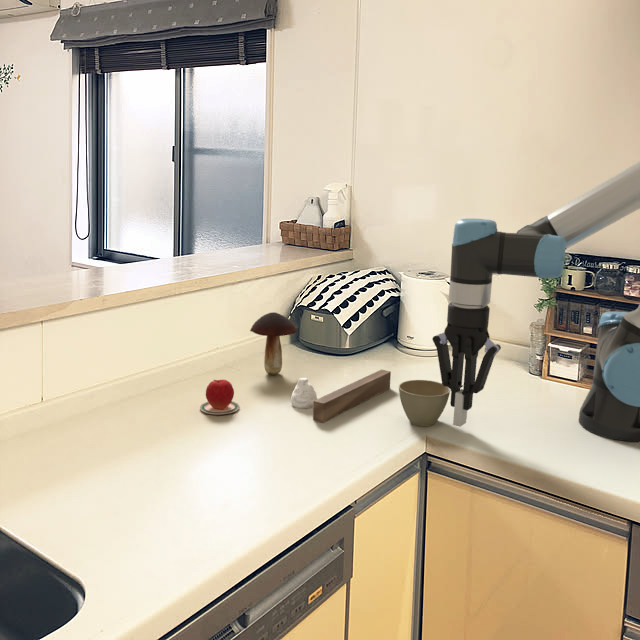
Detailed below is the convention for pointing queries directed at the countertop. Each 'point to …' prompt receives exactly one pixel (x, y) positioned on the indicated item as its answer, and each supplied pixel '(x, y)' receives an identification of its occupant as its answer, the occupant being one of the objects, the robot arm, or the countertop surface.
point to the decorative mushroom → (273, 338)
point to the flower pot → (423, 400)
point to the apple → (219, 398)
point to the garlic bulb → (303, 394)
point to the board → (350, 396)
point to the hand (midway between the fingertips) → (459, 423)
